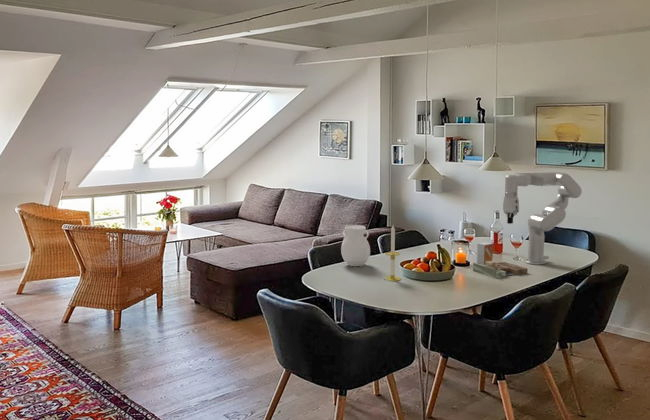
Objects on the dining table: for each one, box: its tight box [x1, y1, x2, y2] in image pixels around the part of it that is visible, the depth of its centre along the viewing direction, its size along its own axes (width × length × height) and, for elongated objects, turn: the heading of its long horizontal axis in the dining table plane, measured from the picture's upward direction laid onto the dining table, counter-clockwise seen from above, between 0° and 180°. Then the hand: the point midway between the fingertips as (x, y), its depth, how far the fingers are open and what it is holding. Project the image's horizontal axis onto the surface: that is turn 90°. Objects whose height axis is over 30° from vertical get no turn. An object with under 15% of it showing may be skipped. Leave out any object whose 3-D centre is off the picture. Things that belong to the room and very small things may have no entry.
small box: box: [476, 242, 494, 265], centre depth 414 cm, size 8×6×13 cm
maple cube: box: [485, 260, 499, 269], centre depth 388 cm, size 5×5×4 cm
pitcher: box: [340, 224, 371, 267], centre depth 409 cm, size 19×18×25 cm
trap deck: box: [472, 261, 528, 279], centre depth 391 cm, size 25×20×5 cm
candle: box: [385, 225, 402, 282], centre depth 373 cm, size 10×10×32 cm
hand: (510, 223), depth 405 cm, fingers closed
